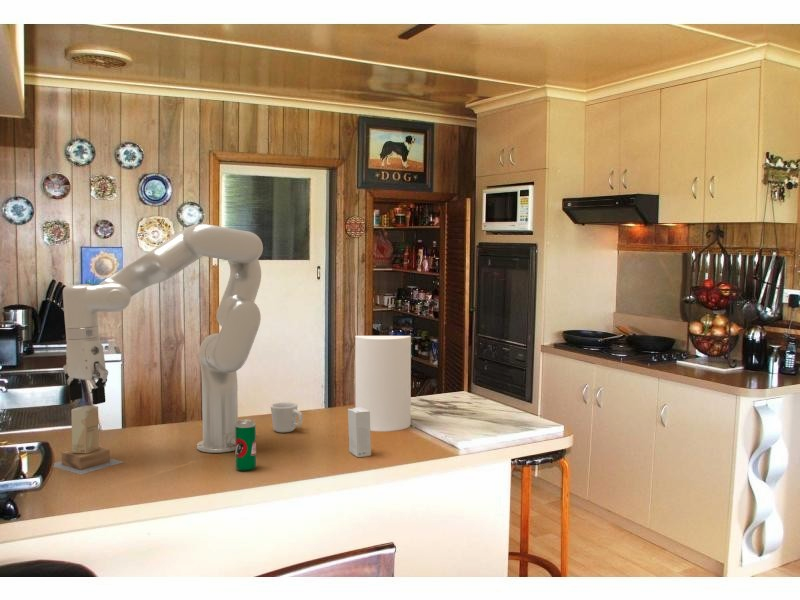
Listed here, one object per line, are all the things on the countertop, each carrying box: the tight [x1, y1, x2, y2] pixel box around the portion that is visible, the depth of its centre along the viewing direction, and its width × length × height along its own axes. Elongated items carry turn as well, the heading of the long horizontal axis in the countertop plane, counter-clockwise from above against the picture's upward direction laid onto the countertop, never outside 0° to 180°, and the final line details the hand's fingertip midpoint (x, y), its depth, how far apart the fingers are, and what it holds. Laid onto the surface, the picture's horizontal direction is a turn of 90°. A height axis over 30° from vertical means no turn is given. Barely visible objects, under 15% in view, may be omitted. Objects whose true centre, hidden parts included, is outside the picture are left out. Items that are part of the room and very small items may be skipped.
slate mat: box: [53, 458, 124, 475], centre depth 178 cm, size 14×12×1 cm
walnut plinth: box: [60, 446, 111, 470], centre depth 178 cm, size 8×8×3 cm
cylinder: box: [354, 335, 412, 432], centre depth 220 cm, size 17×17×28 cm
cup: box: [270, 401, 303, 434], centre depth 212 cm, size 11×8×8 cm
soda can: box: [234, 419, 257, 472], centre depth 176 cm, size 5×5×12 cm
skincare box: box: [347, 407, 372, 458], centre depth 189 cm, size 6×4×12 cm
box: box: [70, 405, 100, 454], centre depth 178 cm, size 5×4×11 cm
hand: (87, 401), depth 177 cm, fingers open, 9 cm apart
